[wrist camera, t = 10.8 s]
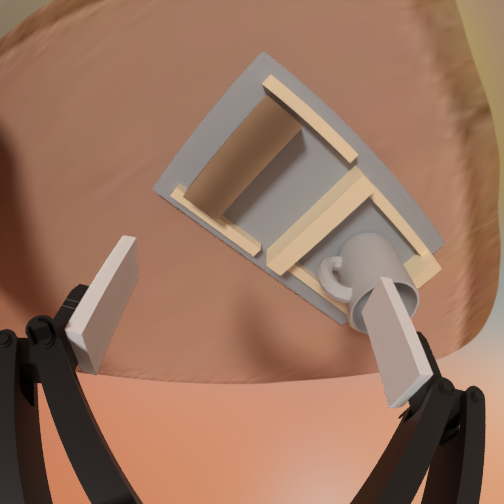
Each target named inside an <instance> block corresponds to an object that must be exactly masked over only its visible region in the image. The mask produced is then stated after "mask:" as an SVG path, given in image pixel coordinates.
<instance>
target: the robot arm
mask: <svg viewBox="0 0 504 504" xmlns="http://www.w3.org/2000/svg"><path fill="white" fill-rule="evenodd" d="M138 279H139V278H138V262H137V239H136V237H130V236H124V235H123V236H122V238H121V239H120V240H119V242H118V243H117V245H116V246H115V248H114V249H113V251H112V252H111V254H110V255H109V257H108V258H107V260H106V261H105V263H104V264H103V266H102V267H101V269H100V271H99V272H98V274H97V275H96V277H95V278H94V280H93V282H92V283H91V285H90V286H86V285H82V284H79V285H78V286H77V287H75V288H74V289H73V290H71V292H70V293H69V295H68V297H67V298H66V300H65V301H64V303H63V304H62V306H61V308H60V309H59V311H58V313H57V314H56V316H55V317H54V319H52V318H50V317H49V316H45V315H41V316H36V317H34V318H32V319H31V320H30V321H29V322H28V324H27V326H26V334H27V337H28V338H17V336H16V334H15V333H14V332H13V331H12V330H9V329H5V330H1V331H0V504H53V503H52V498H51V494H50V490H49V486H48V480H47V475H46V469H45V463H44V457H43V450H42V442H41V433H40V423H39V410H38V390H37V383H42V386H43V390H44V393H45V396H46V399H47V403H48V406H49V408H50V411H51V415H52V417H53V420H54V423H55V425H56V428H57V431H58V434H59V436H60V439H61V441H62V444H63V446H64V448H65V451H66V453H67V455H68V458H69V460H70V462H71V464H72V467H73V469H74V471H75V473H76V475H77V477H78V479H79V481H80V483H81V485H82V487H83V489H84V491H85V493H86V494H87V496H88V498H89V500H90V502H91V503H92V504H143V503H142V501H141V500H140V498H139V497H138V495H137V494H136V492H135V491H134V489H133V488H132V486H131V484H130V483H129V481H128V480H127V478H126V476H125V475H124V473H123V471H122V469H121V468H120V466H119V464H118V463H117V461H116V459H115V457H114V455H113V454H112V452H111V450H110V448H109V446H108V444H107V442H106V440H105V438H104V436H103V434H102V432H101V430H100V428H99V426H98V424H97V422H96V420H95V418H94V415H93V413H92V411H91V409H90V407H89V404H88V402H87V400H86V397H85V395H84V393H83V390H82V388H81V385H80V383H79V380H78V377H77V375H76V372H75V369H76V367H77V365H79V367H80V369H81V371H83V372H87V373H90V374H94V375H97V373H98V370H99V368H100V365H101V363H102V360H103V358H104V355H105V353H106V350H107V348H108V346H109V343H110V341H111V339H112V336H113V334H114V332H115V329H116V327H117V325H118V322H119V320H120V318H121V316H122V313H123V311H124V309H125V307H126V305H127V303H128V300H129V298H130V296H131V294H132V292H133V290H134V288H135V285H136V283H137V281H138ZM362 315H363V318H364V322H365V325H366V328H367V331H368V334H369V338H370V341H371V344H372V348H373V351H374V354H375V358H376V361H377V365H378V369H379V372H380V376H381V379H382V383H383V387H384V391H385V395H386V398H387V402H388V406H389V408H396V407H402V406H403V405H404V404H405V403H406V402H407V401H409V404H410V407H409V408H408V409H407V410H406V411H404V412H403V413H402V414H401V415H400V416H399V417H398V418H401V417H402V416H403V418H402V420H401V422H400V424H399V426H398V428H397V429H396V431H395V433H394V435H393V437H392V439H391V440H390V442H389V444H388V446H387V448H386V450H385V451H384V453H383V454H382V456H381V458H380V459H379V461H378V463H377V464H376V466H375V468H374V469H373V471H372V472H371V474H370V476H369V477H368V478H367V480H366V482H365V483H364V484H363V486H362V487H361V489H360V490H359V492H358V493H357V495H356V496H355V497H354V499H353V500H352V502H351V503H350V504H411V502H412V500H413V499H414V496H415V494H416V493H417V491H418V489H419V487H420V485H421V483H422V480H423V479H424V476H425V474H426V472H427V470H428V468H429V472H428V476H427V481H426V486H425V489H424V493H423V497H422V501H421V504H479V499H480V493H481V485H482V476H483V466H484V452H485V397H484V394H483V392H482V391H481V390H480V389H479V388H478V387H476V386H470V387H469V388H468V389H467V390H466V391H462V390H457V389H455V387H454V385H453V384H452V382H451V381H449V380H448V379H446V378H444V377H442V376H441V373H440V370H439V368H438V365H437V363H436V361H435V358H434V356H433V355H432V354H433V353H432V351H431V349H430V346H429V344H428V342H427V339H426V338H425V337H424V336H423V334H422V333H421V332H416V331H415V328H414V326H413V324H412V321H411V319H410V317H409V315H408V313H407V310H406V308H405V306H404V304H403V302H402V300H401V298H400V295H399V293H398V291H397V289H396V287H395V285H394V283H393V281H392V279H391V278H386V277H379V279H378V281H377V283H376V285H375V287H374V289H373V291H372V293H371V295H370V297H369V299H368V301H367V303H366V305H365V307H364V308H363V310H362ZM459 425H460V428H459ZM429 465H430V466H429Z"/></svg>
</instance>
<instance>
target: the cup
mask: <svg viewBox="0 0 504 504" xmlns="http://www.w3.org/2000/svg"><path fill="white" fill-rule="evenodd" d="M332 270H337V273H338V277H339V280H340V283H339V282H338V281H337V280H336V279H335V277H334V275H333V273H332ZM317 274H318V279H319V283H320V285H321V287H322V289H323V290H324V291H325V293H326V294H327V295H328V296H330V297H331V298H333V299H334V300H337V301H340V302H345V303H346V306H347V310H348V314H349V318H350V321H351V323H352V325H353V327H354V328H355V329H356V330H357V331H359V332H361V333H363V334H367V335H369V334H368V331H367V328H366V325H365V322H364V318H363V315H362V310H363V308H364V307H365V305H366V303H367V301H368V299H369V297H370V295H371V293H372V291H373V289H374V287H375V285H376V283H377V281H378V279H379V277H386V278H391V279H392V281H393V283H394V285H395V287H396V289H397V291H398V293H399V295H400V298H401V300H402V302H403V304H404V306H405V308H406V310H407V313H408V315H409V317H410V319H411V318H412V317H413V315H414V314H415V313H416V311H417V308H418V306H419V300H420V297H419V293H418V290H417V288H416V287H415V285H414V283H413V281H412V279H411V277H410V275H409V274H408V272H407V270H406V268H405V266H404V265H403V263H402V261H401V259H400V258H399V256H398V254H397V252H396V251H395V249H394V247H393V246H392V244H391V243H390V242H389V240H388V239H387V238H385V237H384V236H383V235H380V234H377V233H369V232H367V233H362V234H358V235H356V236H353V237H352V238H350V239H349V240H348V241H346V242H345V243H344V244H343V246H342V247H341V248H340V250H339V252H338V254H337V255H332V256H327V257H325V258H324V259H323V260H322V261H321V262H320V263H319V265H318V268H317Z"/></svg>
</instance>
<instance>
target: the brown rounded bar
mask: <svg viewBox="0 0 504 504" xmlns="http://www.w3.org/2000/svg"><path fill="white" fill-rule="evenodd" d="M302 128H303V126H302V125H301V123H300V122H299V121H298V120H297V119H296V118H295V117H294V116H292V115H291V114H290V113H289V112H288V111H287V110H285V109H284V108H283V107H282V106H281V105H279V104H278V103H277V102H276V101H275V100H273V99H272V98H271V97H270V96H269V95H266V96H265V97H264V98H263V99H262V100H261V101H260V102H259V103H258V105H257V106H256V107H255V108H254V109H253V110H252V111H251V112H250V113H249V115H248V116H247V117H246V118H245V119H244V120H243V121H242V123H241V124H240V125H239V126H238V127H237V128H236V129H235V131H234V132H233V133H232V134H231V135H230V136H229V138H228V139H227V140H226V141H225V142H224V144H223V145H222V146H221V147H220V148H219V150H218V151H217V152H216V153H215V154H214V156H213V157H212V158H211V159H210V161H209V162H208V163H207V164H206V166H205V167H204V168H203V169H202V171H201V172H200V173H199V174H198V176H197V177H196V178H195V179H194V181H193V182H192V183H191V184H190V186H189V187H188V189H187V191H186V192H185V194H184V195H183V197H184V198H185V199H186V200H188V201H189V202H191V203H192V204H193V205H195V206H196V207H197V208H199V209H200V210H201V211H203V212H204V213H206V214H207V215H208V216H210V217H211V218H212V219H214V220H215V221H217V220H218V219H219V217H220V216H221V215H222V214H223V213H224V212H225V211H226V210H227V208H228V207H229V206H230V205H231V204H232V203H233V202H234V201H235V200H236V198H237V197H238V196H239V195H240V194H241V193H242V192H243V191H244V190H245V188H246V187H247V186H248V185H249V184H250V183H251V182H252V181H253V180H254V179H255V178H256V176H257V175H258V174H259V173H260V172H261V171H262V170H263V169H264V168H265V167H266V166H267V165H268V163H269V162H270V161H271V160H272V159H273V158H274V157H275V156H276V155H277V154H278V153H279V152H280V151H281V150H282V149H283V148H284V146H285V145H286V144H287V143H288V142H289V141H290V140H291V139H292V138H293V137H294V136H295V135H296V134H297V133H298V132H299V131H300V130H301V129H302Z"/></svg>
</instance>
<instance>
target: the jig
mask: <svg viewBox="0 0 504 504" xmlns="http://www.w3.org/2000/svg"><path fill="white" fill-rule="evenodd" d="M266 95H269V96H270V97H271V98H272V99H273V100H275V101H276V102H277V103H278V104H279V105H281V106H282V107H283V108H284V109H285V110H287V111H288V112H289V113H290V114H291V115H292V116H294V117H295V118H296V119H297V120H298V121H299V122H300V123H301V125H302V126H303V128H302V129H301V130H300V131H299V132H298V133H297V134H296V135H295V136H294V137H293V138H292V139H291V140H290V141H289V142H288V143H287V144H286V145H285V146H284V148H283V149H282V150H281V151H280V152H279V153H278V154H277V155H276V156H275V157H274V158H273V159H272V160H271V161H270V162H269V163H268V165H267V166H266V167H265V168H264V169H263V170H262V171H261V172H260V173H259V174H258V175H257V176H256V178H255V179H254V180H253V181H252V182H251V183H250V184H249V185H248V186H247V187H246V188H245V190H244V191H243V192H242V193H241V194H240V195H239V196H238V197H237V198H236V200H235V201H234V202H233V203H232V204H231V205H230V206H229V207H228V208H227V210H226V211H225V212H224V213H223V214H222V215H221V216H220V217H219V219H218V220H217V221H215V220H214V219H212V218H211V217H210V216H208V215H207V214H206V213H204V212H203V211H201V210H200V209H199V208H197V207H196V206H195V205H193V204H192V203H191V202H189V201H188V200H186V199H185V198H184V197H183V195H184V194H185V192H186V191H187V189H188V187H189V186H190V184H191V183H192V182H193V181H194V179H195V178H196V177H197V176H198V174H199V173H200V172H201V171H202V169H203V168H204V167H205V166H206V164H207V163H208V162H209V161H210V159H211V158H212V157H213V156H214V154H215V153H216V152H217V151H218V150H219V148H220V147H221V146H222V145H223V144H224V142H225V141H226V140H227V139H228V138H229V136H230V135H231V134H232V133H233V132H234V131H235V129H236V128H237V127H238V126H239V125H240V124H241V123H242V121H243V120H244V119H245V118H246V117H247V116H248V115H249V113H250V112H251V111H252V110H253V109H254V108H255V107H256V106H257V105H258V103H259V102H260V101H261V100H262V99H263V98H264V97H265V96H266ZM152 190H154V191H155V192H156V193H158V194H159V195H160V196H162V197H163V198H165V199H166V200H167V201H169V202H170V203H171V204H173V205H174V206H176V207H177V208H178V209H180V210H181V211H182V212H184V213H185V214H187V215H188V216H189V217H191V218H192V219H193V220H195V221H196V222H198V223H199V224H200V225H202V226H203V227H205V228H206V229H207V230H209V231H210V232H211V233H213V234H214V235H216V236H217V237H218V238H220V239H221V240H223V241H224V242H225V243H227V244H228V245H230V246H231V247H232V248H234V249H235V250H237V251H238V252H239V253H241V254H242V255H243V256H245V257H246V258H248V259H249V260H250V261H252V262H253V263H255V264H256V265H257V266H259V267H260V268H262V269H263V270H264V271H266V272H267V273H269V274H270V275H271V276H273V277H274V278H276V279H277V280H278V281H280V282H281V283H283V284H284V285H285V286H287V287H288V288H290V289H291V290H292V291H294V292H295V293H297V294H298V295H300V296H301V297H302V298H304V299H305V300H307V301H308V302H309V303H311V304H312V305H314V306H315V307H316V308H318V309H319V310H321V311H322V312H323V313H325V314H326V315H328V316H329V317H331V318H332V319H333V320H335V321H336V322H338V323H339V324H340V325H343V324H345V323H346V322H347V321H349V325H350V326H351V327H352V328H353V329H355V328H354V327H353V325H352V323H351V321H350V318H349V314H348V310H347V306H346V303H345V302H340V301H337V300H334V299H333V298H331V297H330V296H328V295H327V294H326V293H325V291H324V290H323V289H322V287H321V285H320V283H319V279H318V274H317V268H318V265H319V263H320V262H321V261H322V260H323V259H324V258H325V257H327V256H332V255H337V254H338V252H339V250H340V248H341V247H342V246H343V244H344V243H345V242H346V241H348V240H349V239H350V238H352V237H353V236H356V235H358V234H362V233H367V232H369V233H377V234H380V235H383V236H384V237H385V238H387V239H388V240H389V242H390V243H391V244H392V246H393V247H394V249H395V251H396V252H397V254H398V256H399V258H400V259H401V261H402V263H403V265H404V266H405V268H406V270H407V272H408V274H409V275H410V277H411V279H412V281H413V283H414V285H415V287H416V288H417V289H418V288H419V287H421V286H422V285H423V284H424V283H426V282H427V281H428V280H429V279H430V278H432V277H433V276H434V275H435V274H436V273H438V272H439V271H440V270H441V269H442V268H441V267H440V265H439V264H438V262H437V261H436V259H435V258H434V256H433V254H434V253H435V252H436V251H437V250H438V249H439V248H441V247H442V246H443V245H444V244H445V242H444V240H443V239H442V237H441V236H440V235H439V233H438V232H437V230H436V229H435V228H434V226H433V225H432V223H431V222H430V221H429V219H428V218H427V217H426V215H425V214H424V213H423V211H422V210H421V209H420V207H419V206H418V205H417V203H416V202H415V201H414V200H413V198H412V197H411V196H410V195H409V193H408V192H407V191H406V190H405V188H404V187H403V186H402V185H401V184H400V182H399V181H398V180H397V179H396V178H395V176H394V175H393V174H392V173H391V172H390V170H389V169H388V168H387V167H386V166H385V165H384V164H383V162H382V161H381V160H380V159H379V158H378V157H377V156H376V155H375V154H374V152H373V151H372V150H371V149H370V148H369V147H368V146H367V145H366V144H365V143H364V142H363V141H362V140H361V138H360V137H359V136H358V135H357V134H356V133H355V132H354V131H353V130H352V129H351V128H350V127H349V126H348V125H347V124H346V123H345V122H344V121H343V120H342V119H341V118H340V117H339V116H338V115H337V114H336V113H335V112H334V111H333V110H331V109H330V108H329V107H328V106H327V105H326V104H325V103H324V102H323V101H322V100H321V99H320V98H319V97H318V96H316V95H315V94H314V93H313V92H312V91H311V90H310V89H309V88H307V87H306V86H305V85H304V84H303V83H302V82H301V81H299V80H298V79H297V78H296V77H295V76H294V75H292V74H291V73H290V72H289V71H288V70H286V69H285V68H284V67H283V66H281V65H280V64H279V63H278V62H276V61H275V60H274V59H273V58H271V57H270V56H269V55H268V54H266V53H265V52H264V51H263V52H262V53H261V54H260V55H259V56H258V57H257V58H256V59H255V60H254V61H253V62H252V63H251V64H250V66H249V67H248V68H247V69H246V70H245V71H244V72H243V73H242V74H241V75H240V77H239V78H238V79H237V80H236V81H235V82H234V83H233V85H232V86H231V87H230V88H229V89H228V90H227V92H226V93H225V94H224V95H223V96H222V97H221V99H220V100H219V101H218V102H217V103H216V105H215V106H214V107H213V108H212V110H211V111H210V112H209V113H208V114H207V116H206V117H205V118H204V119H203V121H202V122H201V123H200V125H199V126H198V127H197V128H196V130H195V131H194V132H193V134H192V135H191V136H190V137H189V139H188V140H187V141H186V143H185V144H184V145H183V147H182V148H181V149H180V151H179V152H178V153H177V155H176V156H175V158H174V159H173V160H172V162H171V163H170V165H169V166H168V167H167V169H166V170H165V172H164V173H163V174H162V176H161V177H160V179H159V180H158V182H157V183H156V185H155V186H154V187H153V189H152ZM332 273H333V275H334V277H335V279H336V280H337V281H338V282H339V283H340V280H339V277H338V273H337V270H332ZM355 330H356V329H355ZM356 331H357V330H356ZM357 332H359V331H357Z"/></svg>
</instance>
